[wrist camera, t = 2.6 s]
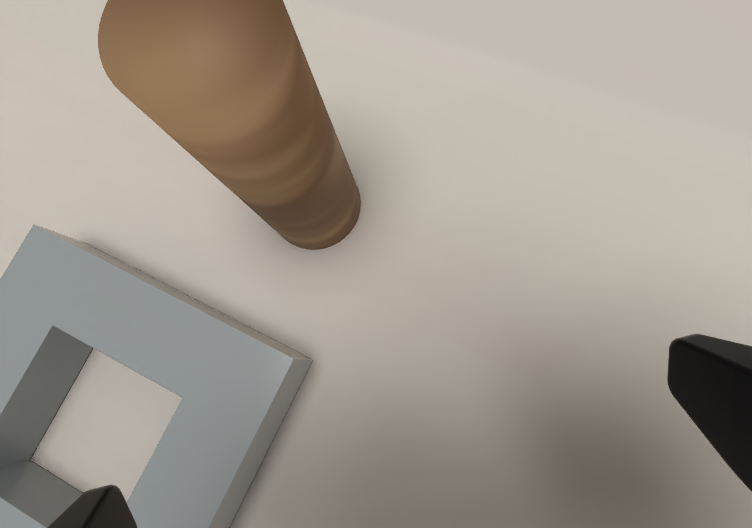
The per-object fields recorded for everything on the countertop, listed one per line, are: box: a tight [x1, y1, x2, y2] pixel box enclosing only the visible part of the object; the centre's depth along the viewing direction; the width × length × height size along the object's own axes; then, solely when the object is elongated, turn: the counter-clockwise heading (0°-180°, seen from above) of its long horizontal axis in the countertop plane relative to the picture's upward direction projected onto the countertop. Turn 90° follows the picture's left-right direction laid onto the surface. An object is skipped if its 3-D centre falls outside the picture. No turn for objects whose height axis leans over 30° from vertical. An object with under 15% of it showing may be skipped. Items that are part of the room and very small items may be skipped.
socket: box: [0, 225, 313, 528], centre depth 20 cm, size 12×12×3 cm
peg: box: [98, 0, 361, 249], centre depth 16 cm, size 4×4×12 cm
